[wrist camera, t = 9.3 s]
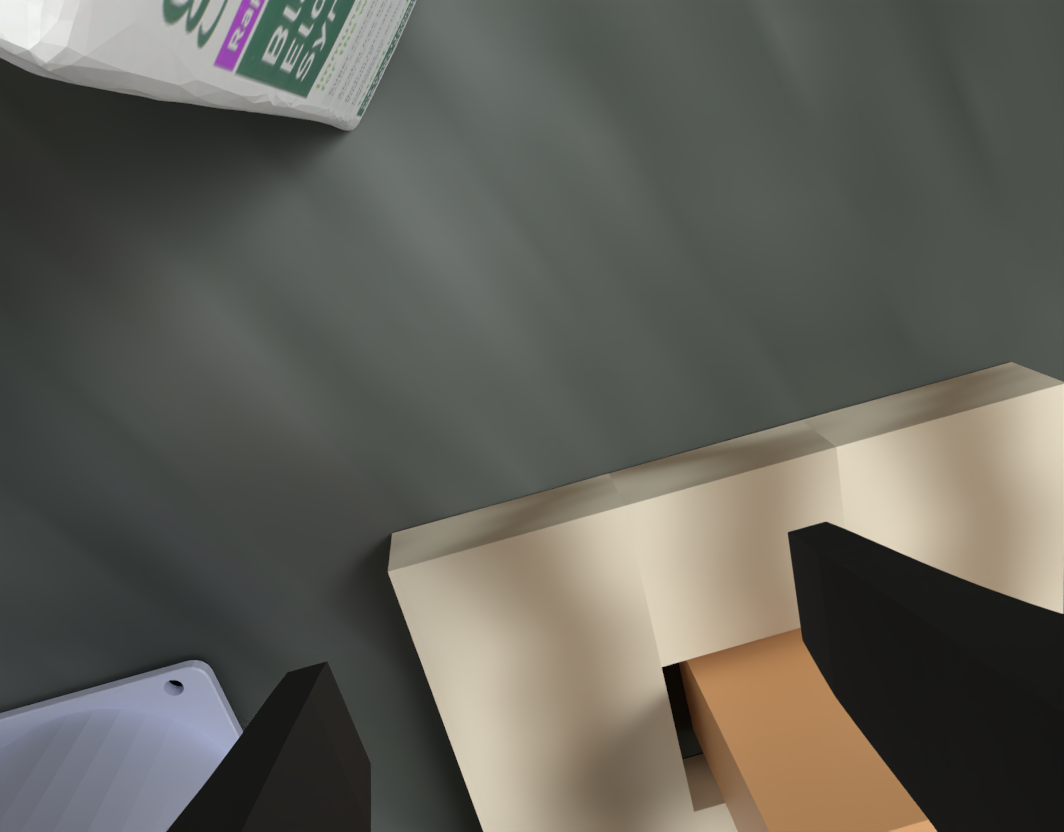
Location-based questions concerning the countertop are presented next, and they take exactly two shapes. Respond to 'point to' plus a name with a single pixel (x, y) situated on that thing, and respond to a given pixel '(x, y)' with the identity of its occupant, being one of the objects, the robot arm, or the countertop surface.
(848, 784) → the orange rectangular block
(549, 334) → the countertop surface
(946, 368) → the countertop surface
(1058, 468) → the holder plate
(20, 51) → the syrup box
